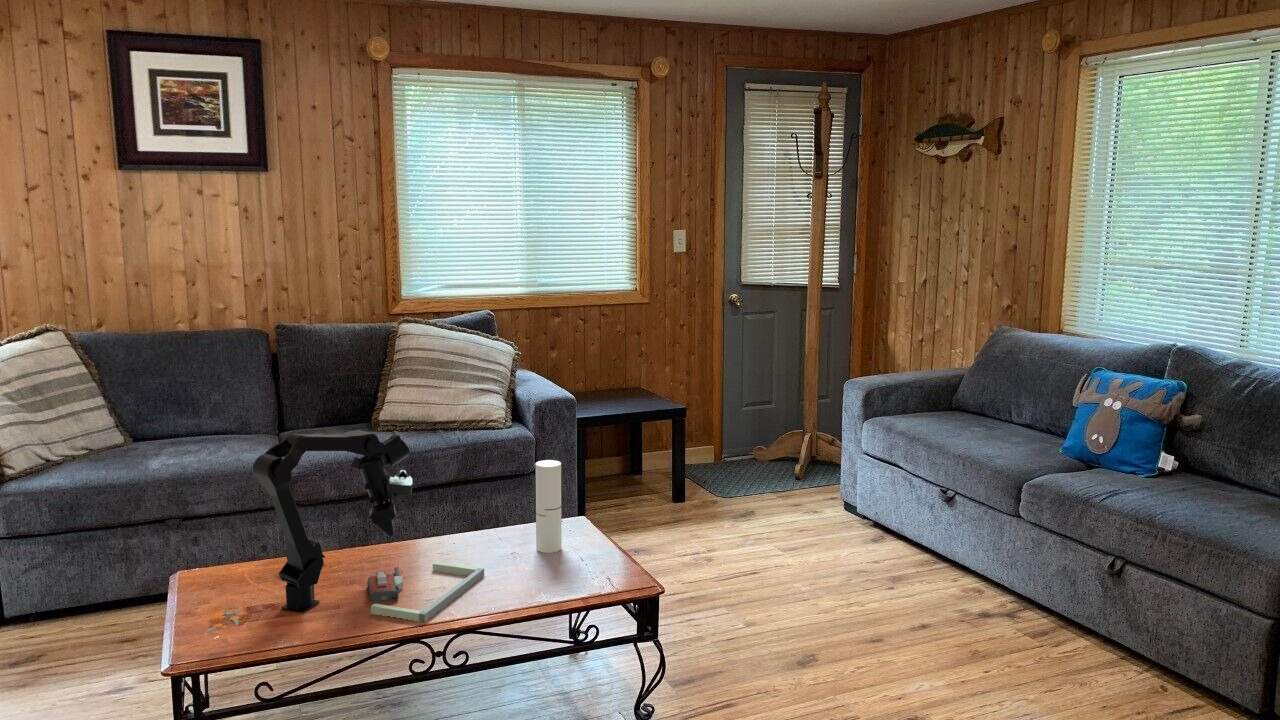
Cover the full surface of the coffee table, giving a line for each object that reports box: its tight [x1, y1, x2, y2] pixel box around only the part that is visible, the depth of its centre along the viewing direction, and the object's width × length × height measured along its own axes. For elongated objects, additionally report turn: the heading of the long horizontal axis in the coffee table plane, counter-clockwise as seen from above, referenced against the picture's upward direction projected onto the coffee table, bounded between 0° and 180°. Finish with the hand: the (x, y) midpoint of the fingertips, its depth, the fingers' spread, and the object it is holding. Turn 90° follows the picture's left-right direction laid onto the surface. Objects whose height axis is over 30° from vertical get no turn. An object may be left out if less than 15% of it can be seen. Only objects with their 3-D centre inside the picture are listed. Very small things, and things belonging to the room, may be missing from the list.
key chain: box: [205, 606, 241, 633], centre depth 225 cm, size 13×7×1 cm, turn 15°
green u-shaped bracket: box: [370, 561, 485, 624], centre depth 240 cm, size 30×14×2 cm, turn 162°
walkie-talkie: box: [366, 566, 404, 604], centre depth 244 cm, size 9×4×20 cm
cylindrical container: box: [535, 459, 562, 554], centre depth 270 cm, size 7×7×25 cm
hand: (391, 526), depth 251 cm, fingers open, 9 cm apart
